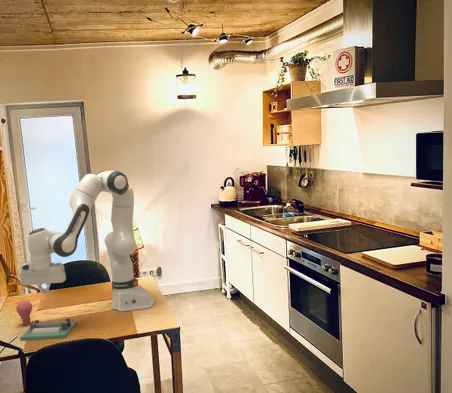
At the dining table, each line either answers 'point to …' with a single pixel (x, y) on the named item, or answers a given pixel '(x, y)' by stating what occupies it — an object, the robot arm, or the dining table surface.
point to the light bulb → (24, 311)
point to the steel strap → (49, 323)
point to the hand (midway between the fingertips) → (44, 292)
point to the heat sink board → (49, 331)
